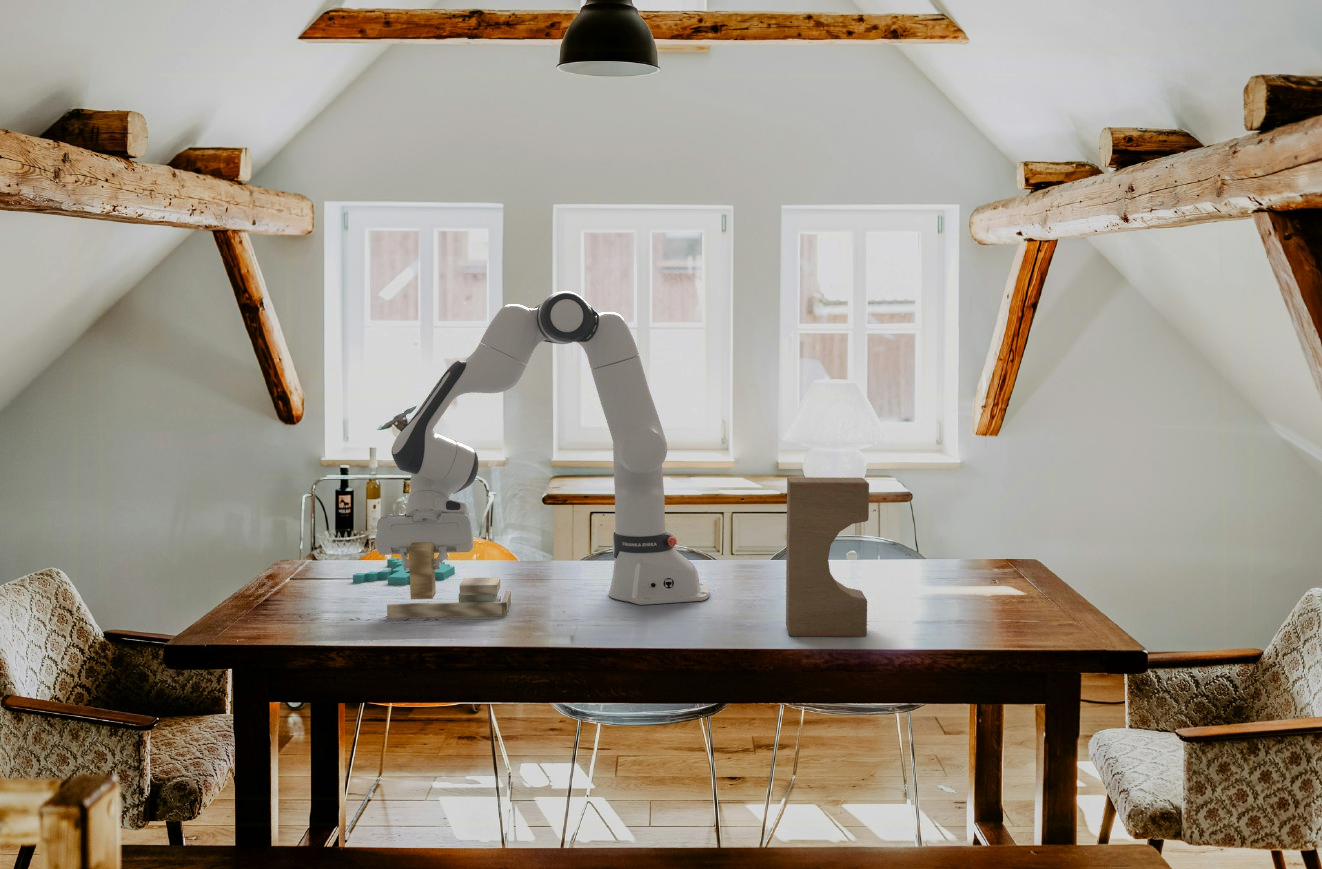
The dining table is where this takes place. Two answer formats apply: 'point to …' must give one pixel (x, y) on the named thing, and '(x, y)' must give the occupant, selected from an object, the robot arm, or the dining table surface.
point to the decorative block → (822, 556)
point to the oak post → (421, 570)
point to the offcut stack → (479, 590)
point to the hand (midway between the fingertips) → (421, 568)
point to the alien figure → (400, 573)
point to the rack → (450, 609)
